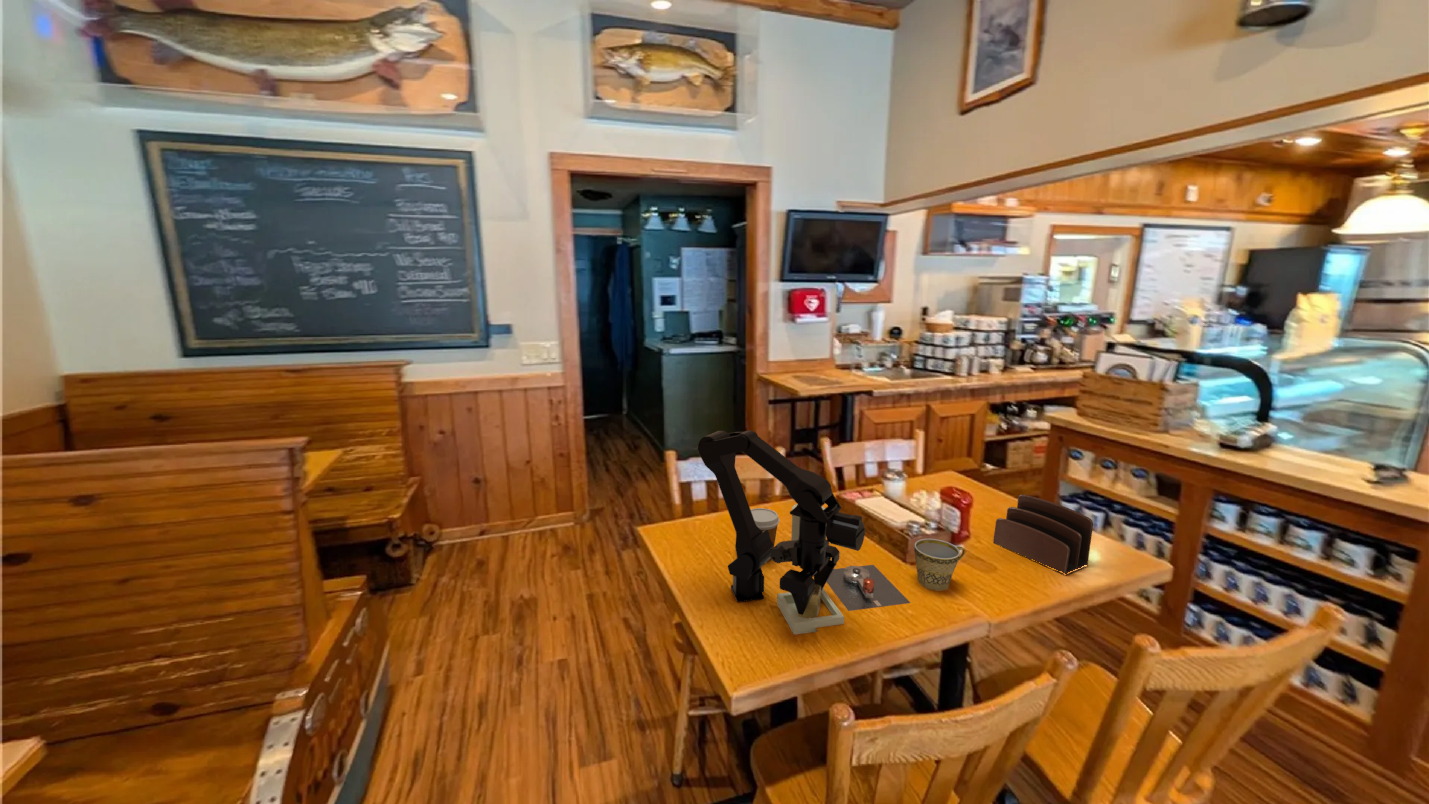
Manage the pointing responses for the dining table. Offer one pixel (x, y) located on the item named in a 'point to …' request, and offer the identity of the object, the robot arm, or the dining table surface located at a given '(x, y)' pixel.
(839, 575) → the machine bed
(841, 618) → the tray
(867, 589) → the crank
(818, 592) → the block
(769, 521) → the disposable coffee cup
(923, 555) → the ceramic cup
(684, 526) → the dining table surface
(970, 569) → the dining table surface
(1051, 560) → the letter holder
